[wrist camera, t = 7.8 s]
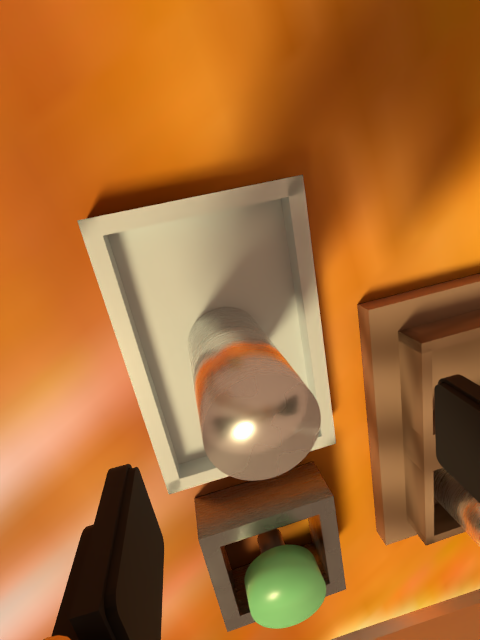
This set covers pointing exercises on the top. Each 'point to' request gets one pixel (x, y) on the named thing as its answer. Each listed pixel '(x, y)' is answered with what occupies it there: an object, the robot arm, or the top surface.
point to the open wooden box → (261, 516)
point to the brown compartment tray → (414, 397)
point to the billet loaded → (457, 503)
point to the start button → (283, 583)
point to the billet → (248, 398)
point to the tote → (207, 301)
